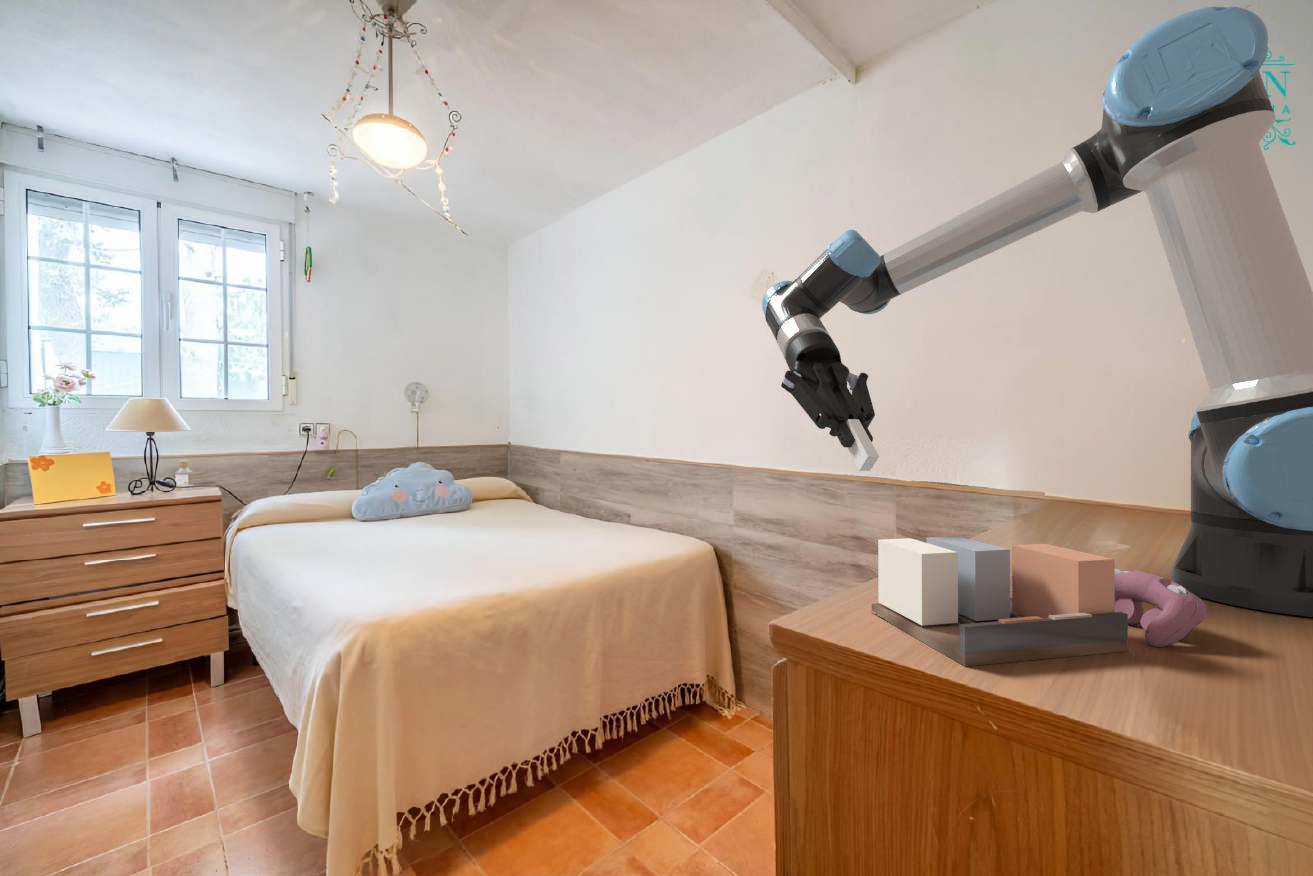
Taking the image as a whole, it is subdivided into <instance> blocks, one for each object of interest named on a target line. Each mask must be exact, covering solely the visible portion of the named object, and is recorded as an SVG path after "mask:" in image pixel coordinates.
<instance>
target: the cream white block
mask: <svg viewBox="0 0 1313 876" xmlns="http://www.w3.org/2000/svg"><path fill="white" fill-rule="evenodd" d="M877 540H878V544H877V545H878V548H877V549H878V550H877V551H878V558H877V559H878V560H877V561H878V563H877V564H878V570H877V572H878V581H877V582H878V583H877V584H878V585H877V586H878V587H877V589H878V591H877V593H878V600H877V601H878V603H880V604H882V605H884V606H886V607H888V608H890V609H892V610H894V611H896V612H897V613H899V614H901V615H903V616H905V617H907V618H909V619H911V620H912V621H914V622H916V623H918V624H920V625H922V626H923V625H936V624H949V623H958V552H955V551H952V550H949V549H945V548H942V547H939V546H935V545H932V544H928V543H926V541H925V542H924V541H921V540H919V539H914V538H911V537H909V538H908V537H907V538H886V539H884V538H883V539H877Z"/></svg>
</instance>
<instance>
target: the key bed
mask: <svg viewBox="0 0 1313 876" xmlns="http://www.w3.org/2000/svg"><path fill="white" fill-rule="evenodd" d="M872 611H873V612H875V613H876V614H878V615H879V616H881V617H882V618H884V619H885V620H886V621H885V620H884V619H883V620H884V621H885V622H887V621H888V622H887V623H889V624H890V623H891V624H890V625H892V624H893V625H892V626H894V627H896V628H897V627H898V629H900V630H901V631H903V632H905V633H906V634H908V635H909V636H912V637H913V638H914V639H917V640H918V641H920V642H921V643H924V644H925V645H927V646H929V647H930V648H932V649H934V650H936V651H937V652H939V653H941V654H943V655H944V656H946V657H948V658H949V659H951V660H953V661H955V662H957V663H958V664H960V665H962V666H964V667H974V666H985V665H986V666H987V665H994V664H995V665H996V664H1004V663H1005V664H1006V663H1015V662H1016V663H1017V662H1018V663H1019V662H1028V661H1035V660H1037V661H1038V660H1040V661H1041V660H1049V659H1058V658H1059V659H1060V658H1069V657H1072V658H1073V657H1082V656H1090V655H1092V656H1093V655H1101V654H1111V653H1113V654H1114V653H1123V652H1129V643H1128V641H1129V640H1128V639H1129V631H1128V630H1129V627H1128V625H1129V624H1128V614H1126V613H1122V612H1114V613H1101V614H1088V613H1073V614H1059V615H1048V618H1040V617H1038V616H1033V617H1025V616H1022V615H1020V614H1017V613H1015V612H1012V597H1010V618H1007V619H997V620H984V621H974V620H972V619H970V618H967V617H965V616H963V615H961V614H959V613H958V623H949V624H936V625H923V626H922V625H920V624H918V623H916V622H914V621H912V620H911V619H909V618H907V617H905V616H903V615H901V614H899V613H897V612H896V611H894V610H892V609H890V608H888V607H886V606H884V605H882V604H880V603H879V602H877V603H871V612H872ZM882 618H881V619H882Z"/></svg>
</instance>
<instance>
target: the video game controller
mask: <svg viewBox="0 0 1313 876" xmlns="http://www.w3.org/2000/svg"><path fill="white" fill-rule="evenodd" d="M1143 603H1147V604H1150V605H1151V606H1154V607H1153V608H1150V609H1149V610H1147V611H1145V612H1144V608H1143V607H1142V604H1143ZM1115 612H1122V613H1126V614H1128V625H1129V624H1131V625H1132V626H1134V625H1137V624H1139V623H1140V626H1141V627H1142V628H1143V629H1144V630H1145V631H1144V639H1145V642H1146V643H1147V644H1148V645H1150V646H1151V647H1154V648H1164V647H1167V646H1168V647H1169V646H1171V645H1173V644H1176V643H1178V642H1179V641H1181V640H1182V639H1183V638H1184V637H1186V636H1187V635H1188V634H1189V633H1190V631H1192V629H1194V627H1197V626H1199V625H1200V624H1201V623H1203V622H1204V620H1205V618H1206V617H1207V615H1208V613H1207V612H1208V608H1207V605H1206V604H1205V602H1204V600H1202V598H1201V597H1199V596H1195V595H1194V594H1192V593H1191V592H1189V591H1188V590H1187V589H1186V588H1184V587H1182V586H1181V585H1179V584H1177V583H1175V582H1173V581H1172V579H1168V578H1165V577H1162V576H1160V575H1157V574H1153V573H1149V572H1147V571H1146V572H1145V571H1141V570H1133V571H1127V570H1124V571H1123V570H1121V569H1119V568H1115ZM1131 625H1130V626H1131Z"/></svg>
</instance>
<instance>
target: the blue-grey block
mask: <svg viewBox="0 0 1313 876" xmlns="http://www.w3.org/2000/svg"><path fill="white" fill-rule="evenodd" d="M925 539H926V541H925V543H928V544H932V545H935V546H939V547H942V548H945V549H949V550H952V551H955V552H958V613H959V614H961V615H963V616H965V617H967V618H970V619H972V620H974V621H984V620H997V619H1007V618H1010V598H1011V549H1010V548H1006V547H1001V546H998V545H994V544H991V543H990V544H989V543H986V542H982V541H977V540H974V539H969V538H966V537H961V536H958V535H952V536H950V535H949V536H931V537H930V536H928V537H926V538H925Z"/></svg>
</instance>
